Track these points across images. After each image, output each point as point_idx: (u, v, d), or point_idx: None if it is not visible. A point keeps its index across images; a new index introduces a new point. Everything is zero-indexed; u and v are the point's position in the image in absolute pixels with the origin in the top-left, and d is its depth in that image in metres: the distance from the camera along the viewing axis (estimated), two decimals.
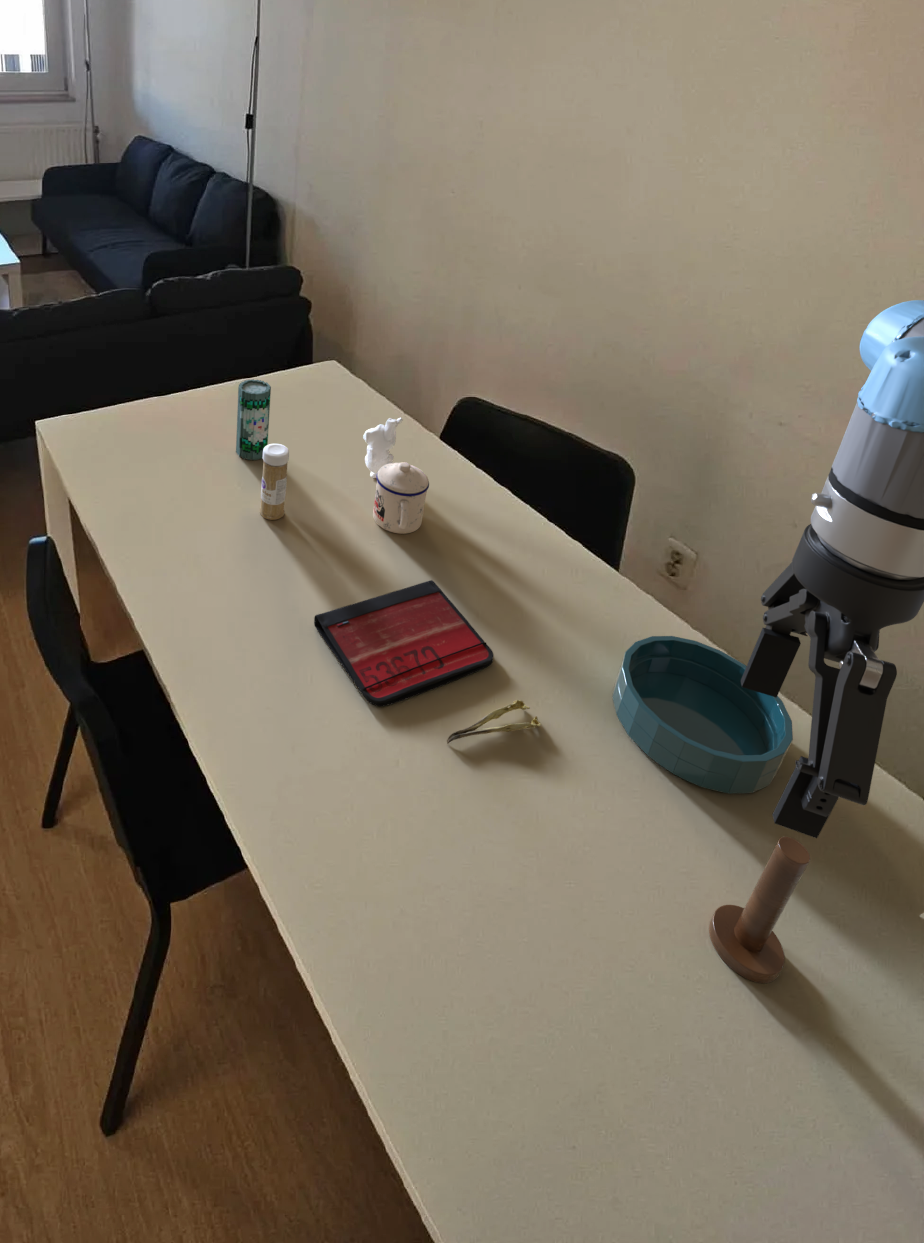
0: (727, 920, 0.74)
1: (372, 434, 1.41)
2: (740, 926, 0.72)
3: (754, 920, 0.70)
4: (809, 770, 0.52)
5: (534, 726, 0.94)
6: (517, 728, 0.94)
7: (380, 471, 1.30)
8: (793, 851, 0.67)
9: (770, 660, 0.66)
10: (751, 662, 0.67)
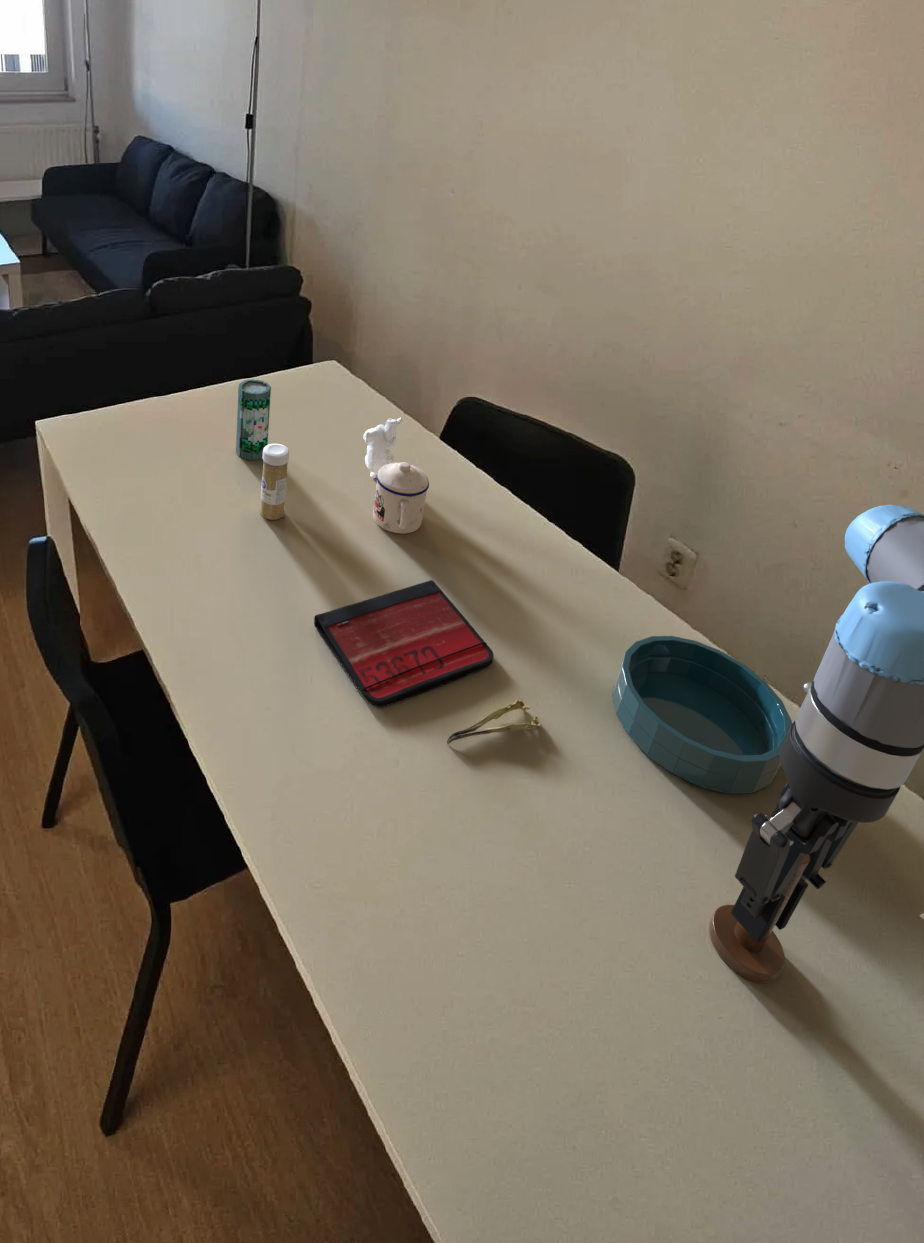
0: (727, 920, 0.74)
1: (372, 434, 1.41)
2: (740, 926, 0.72)
3: None
4: None
5: (534, 726, 0.94)
6: (517, 728, 0.94)
7: (380, 471, 1.30)
8: None
9: None
10: None
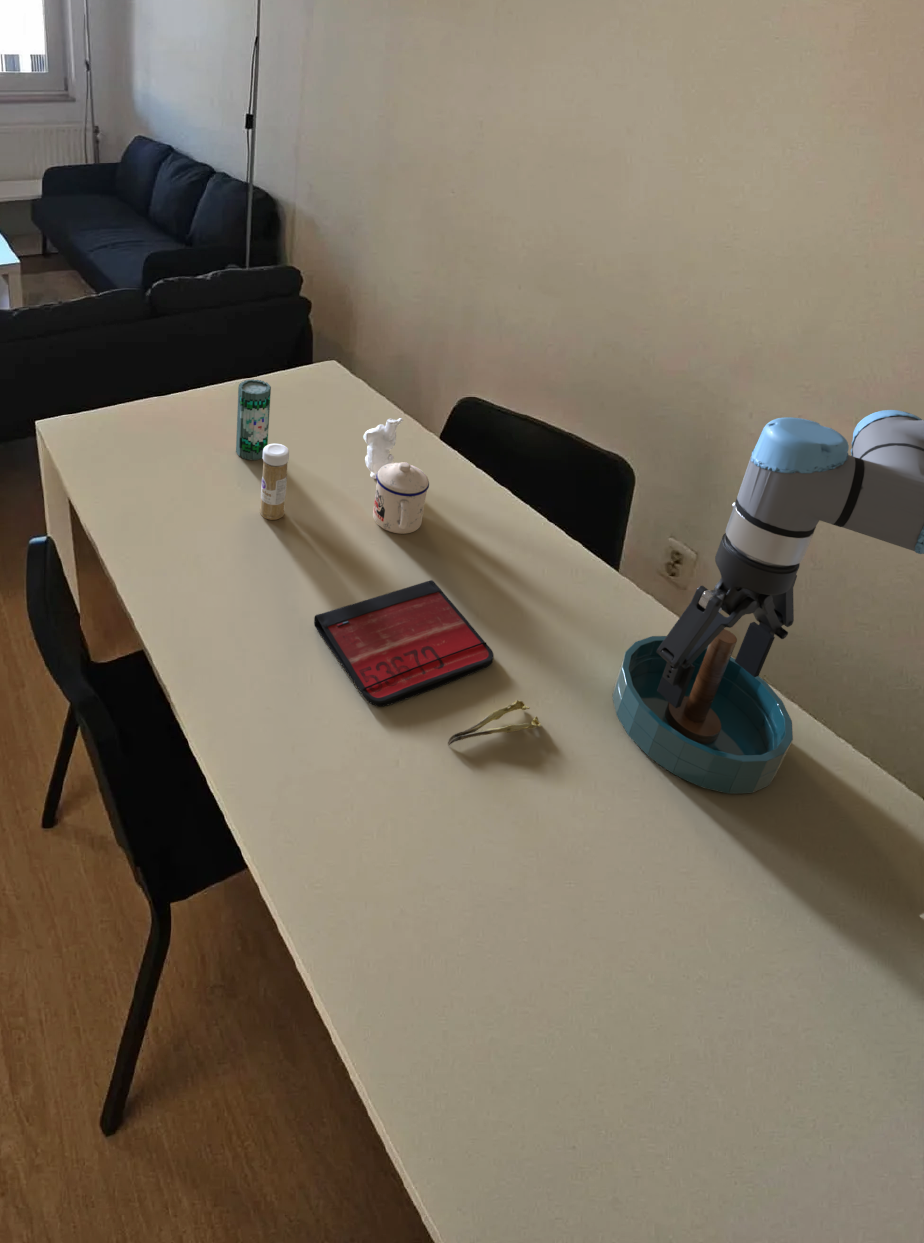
0: None
1: (372, 434, 1.41)
2: (688, 704, 0.95)
3: (697, 696, 0.93)
4: None
5: (534, 726, 0.94)
6: (518, 729, 0.94)
7: (380, 471, 1.30)
8: (724, 636, 0.90)
9: (752, 645, 0.94)
10: (742, 644, 0.95)
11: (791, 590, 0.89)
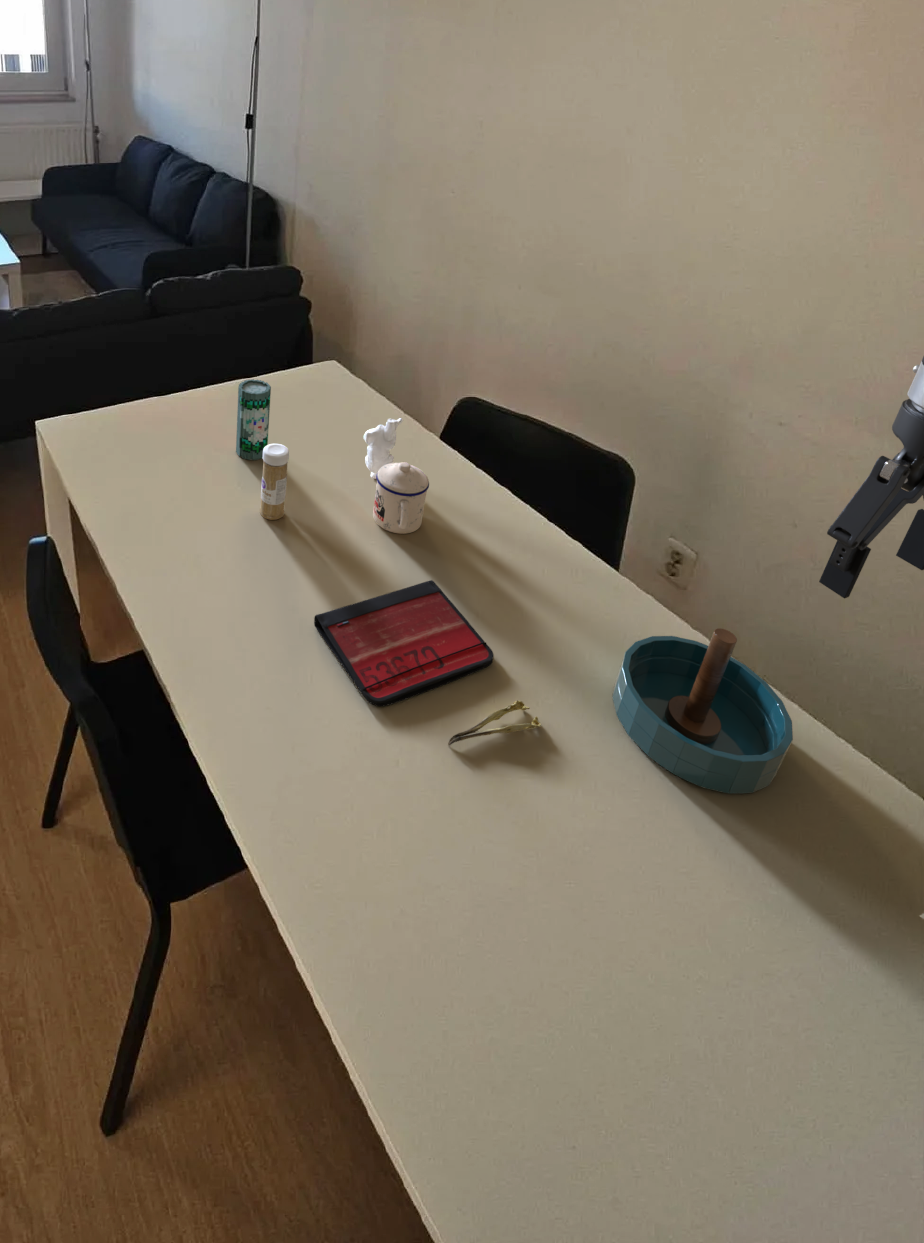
0: (679, 704, 0.96)
1: (372, 435, 1.41)
2: (688, 704, 0.95)
3: (697, 696, 0.93)
4: None
5: (534, 726, 0.94)
6: (518, 729, 0.94)
7: (380, 471, 1.30)
8: (724, 636, 0.90)
9: (920, 535, 0.85)
10: (906, 535, 0.86)
11: None
